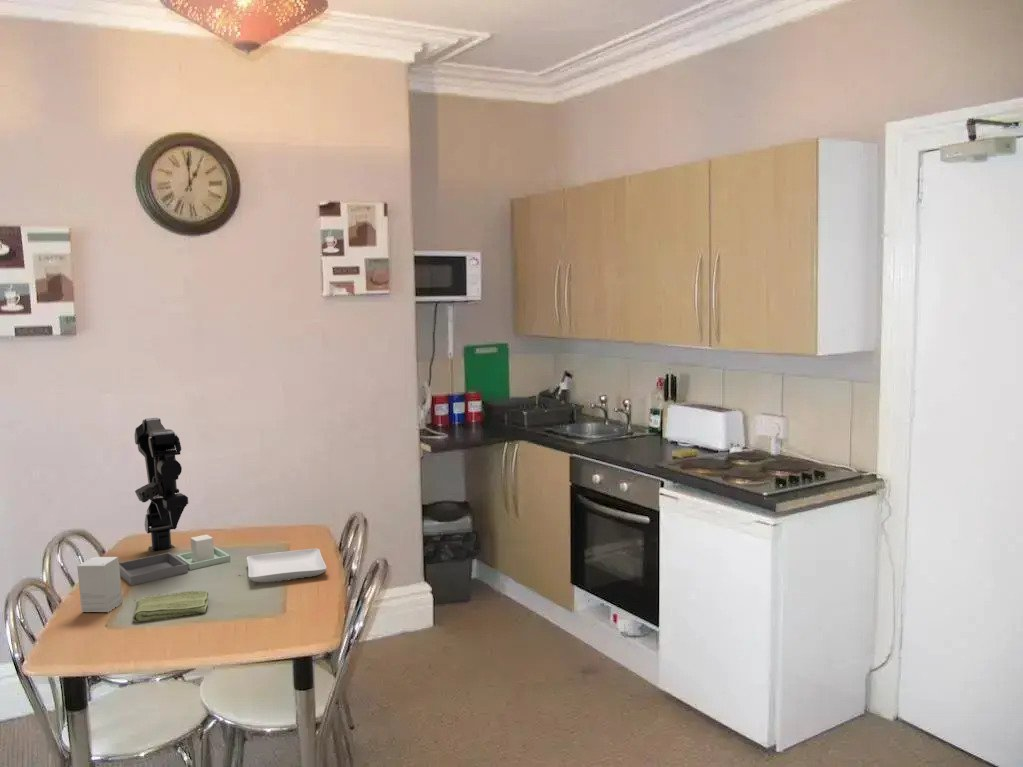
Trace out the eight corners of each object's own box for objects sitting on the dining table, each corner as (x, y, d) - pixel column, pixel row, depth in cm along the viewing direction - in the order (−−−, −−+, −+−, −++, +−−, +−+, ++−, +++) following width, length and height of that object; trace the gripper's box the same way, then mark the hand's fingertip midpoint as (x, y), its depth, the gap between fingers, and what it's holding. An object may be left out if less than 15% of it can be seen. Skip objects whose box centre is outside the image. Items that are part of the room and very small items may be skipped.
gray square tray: (115, 573, 249) (114, 563, 248) (170, 561, 258) (169, 552, 258) (131, 587, 237) (130, 576, 236) (188, 574, 246) (187, 564, 246)
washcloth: (208, 615, 216) (207, 603, 216) (132, 625, 210) (131, 613, 210) (209, 597, 228) (208, 586, 228) (137, 607, 223) (136, 595, 222)
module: (191, 560, 257) (190, 537, 256) (208, 556, 260) (207, 534, 260) (197, 564, 253) (196, 541, 253) (214, 560, 257) (213, 537, 256)
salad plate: (319, 557, 261) (318, 546, 260) (327, 579, 241) (327, 567, 240) (246, 566, 254) (246, 555, 253) (249, 589, 234) (248, 577, 233)
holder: (176, 562, 258) (176, 555, 258) (215, 553, 265) (215, 546, 265) (190, 571, 249) (189, 564, 248) (230, 562, 256) (230, 555, 256)
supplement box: (123, 602, 225) (120, 556, 223) (107, 613, 218) (103, 565, 216) (97, 602, 226) (93, 556, 224) (80, 613, 218) (76, 565, 217)
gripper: (127, 472, 257) (130, 522, 259) (147, 482, 243) (151, 536, 245) (164, 466, 264) (168, 515, 266) (187, 476, 250) (190, 528, 252)
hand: (168, 523), depth 257 cm, fingers open, 9 cm apart
